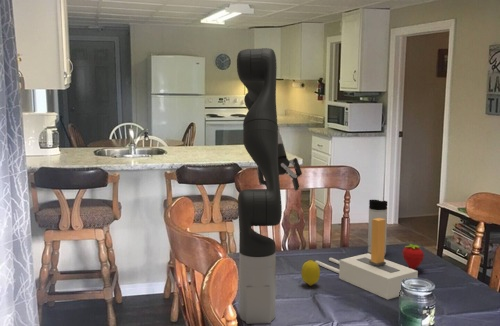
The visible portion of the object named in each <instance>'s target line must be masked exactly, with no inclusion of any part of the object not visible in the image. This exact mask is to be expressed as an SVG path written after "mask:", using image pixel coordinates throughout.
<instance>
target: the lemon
mask: <svg viewBox="0 0 500 326" xmlns="http://www.w3.org/2000/svg"><path fill="white" fill-rule="evenodd" d="M320 276H321V269H320V265H318V264H317V263H316V262H315V261H314V260H312V259H309V260H308V261H306V262H304V263H303V265H302V267H301V278H302V280H303V282H304V283H306V284H308V286H310V287H311V286H313V285H314V284H317V283H318V282H319V279H320V278H321V277H320Z"/></svg>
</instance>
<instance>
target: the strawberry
mask: <svg viewBox="0 0 500 326" xmlns="http://www.w3.org/2000/svg"><path fill="white" fill-rule="evenodd" d="M402 257H403V259H404V261H405V263H406V264H407V267H408V268H411V269H414V270H416V269H417V268H418V267H419V266H420V265H421V263H422V262H423V260H424V258H425V255H424V251H423V250H422V249H421V248H420V246H419V244H414V243H413V241H411V243H409V245H404V248H403V250H402Z"/></svg>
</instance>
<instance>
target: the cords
mask: <svg viewBox="0 0 500 326" xmlns="http://www.w3.org/2000/svg"><path fill="white" fill-rule="evenodd" d="M328 261H330V262H332V263H334V264H336V265H339V264H340V259H339V260H338V259H336V258H333V257H329V258H328ZM314 262H316V263H317V264H318V266H319V267H323V268H325V269H328V270H329V271H332V272H334V273H337V274H339V268H337V267H334V266H332V265H329V264H326V263H324V262H321V261H320V260H315V261H314Z"/></svg>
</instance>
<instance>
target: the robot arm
mask: <svg viewBox="0 0 500 326" xmlns="http://www.w3.org/2000/svg"><path fill="white" fill-rule="evenodd" d="M277 66H278V65H277V56H276V52H275V51H274V50H273V49H272V48H268V47H265V48H263V47H262V48H246V49H242V50H240V51H239V52H238V53H237V56H236V70H237V76H238V78H239V80H240V82H241V83H242V85H243V86H244V87H245V88H246V89H247V93H246V94H245V95H244V99H243V100H244V105H245V107H246V108H247V109H246V110H247V113H246V114H245V116H244V118H243V123H242V125H243V126H242V127H243V129H242V137H243V138H242V143H243V146H244V148H245V150H246V152H247V153H248V155H249V156H250V159H252V160H253V162H254V163H255V164H256V165H257V167H256V173H257V177H258V183H259V185H262V186H265V188H266V189H265V188H261V189H260V188H257V189H255V188H252V189H250V188H249V189H248V188H247V189H242V190H241V191H240V192H239V194H238V198H237V211H238V213H237V215H238V216H237V217H238V230H239V235H238V236H239V241H238V242H239V245H238V251H239V252H238V253H239V255H238V256H239V258H238V259H239V261H238V262H239V263H238V265H239V266H238V268H239V269H238V271H239V273H238V274H239V276H238V277H239V280H238V281H239V283H238V284H239V290H238V291H239V294H238V296H239V318H240V320H242V321H243V322H245V323H246V325H247V324H248V325H249V324H251V325H252V324H253V325H254V324H271V323H272V321H273V320H275V318H276V251H277V250H276V247H277V246H276V242H275V240H274V239H273V238H271V237H268V236H266V235H264V234H263V235H262V234H261V233H258V231H255V230H254V229H253V228H252V227H274V226H278V225H279V224H280V222H281V221H282V215H283V211H282V210H283V207H282V205H283V204H282V198H281V197H282V194H281V185H280V183H281V181H280V176H283V175H285V174H286V175H287V176H289V177H290V179H292V184H293V189H294V191H295V192H296V191H298V190H299V188H300V183H299V180H298V178H299V177H300V176H302V174H303V172H302V170H301V166H300V163H299V161H298V158H297V157H294V158H293V159H290V160H289V159H288V156H287V153H286V150H285V145H284V141H283V138H282V135H281V132H280V129H279V126H278V114H277V69H278V68H277ZM290 165H291V166H292V167H293V168H294V171H293V170H292V169H291V168H289V166H290Z"/></svg>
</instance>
